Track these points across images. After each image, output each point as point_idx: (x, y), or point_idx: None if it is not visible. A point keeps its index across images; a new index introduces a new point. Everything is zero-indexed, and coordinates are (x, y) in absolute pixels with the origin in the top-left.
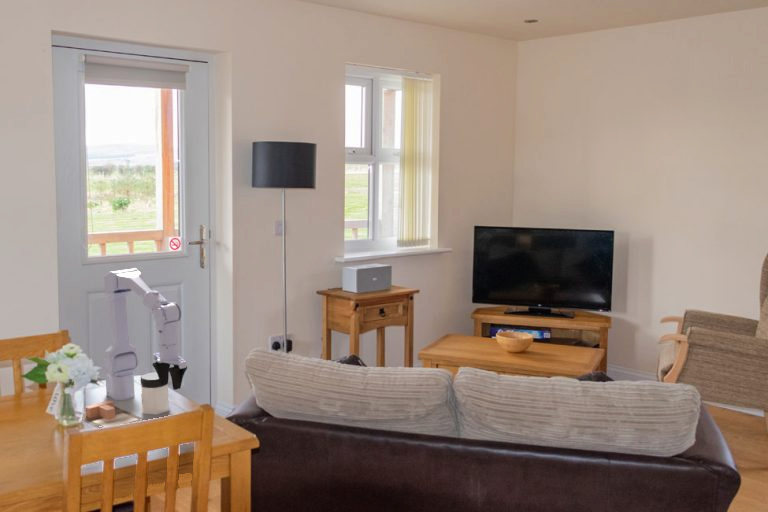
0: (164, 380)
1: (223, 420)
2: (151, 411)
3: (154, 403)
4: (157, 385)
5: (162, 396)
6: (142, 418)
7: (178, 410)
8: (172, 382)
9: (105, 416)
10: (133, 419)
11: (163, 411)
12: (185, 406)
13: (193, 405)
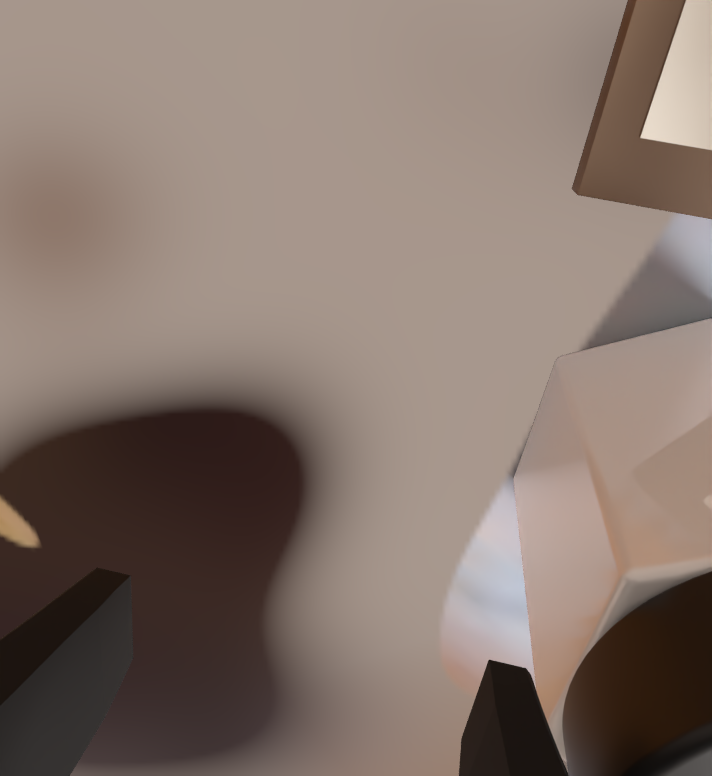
0: (479, 774)
1: (31, 538)
2: (623, 365)
3: (595, 423)
4: (618, 652)
5: (553, 557)
6: (617, 195)
7: (494, 564)
8: (22, 668)
9: None
10: (704, 99)
11: (531, 448)
12: (509, 645)
13: (465, 678)
